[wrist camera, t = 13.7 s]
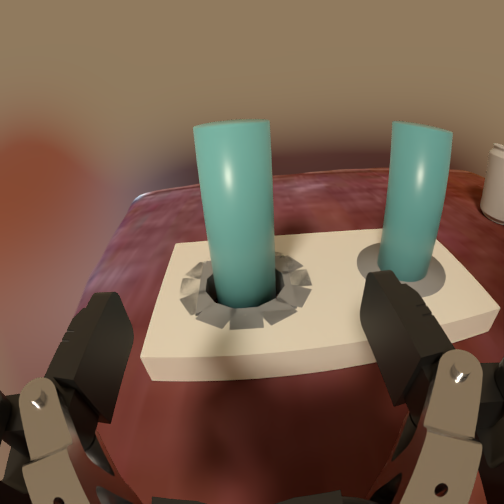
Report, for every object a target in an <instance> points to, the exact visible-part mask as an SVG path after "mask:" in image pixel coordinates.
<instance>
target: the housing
mask: <svg viewBox="0 0 504 504" xmlns="http://www.w3.org/2000/svg"><path fill="white" fill-rule="evenodd" d="M382 230H383V229H368V230H352V231H337V232H322V233H307V234H293V235H279V236H274V241H275V280H276V294H278V296H277V298H275V299H273V300H271V301H269V302H267V303H265V304H263V305H261V306H258V307H251V308H237V309H234V308H230V307H227V306H224V305H221V304H218V303H215V302H214V300H215V299H216V298H217V294H216V288H215V283H214V276H213V270H212V264H211V258H210V251H209V245H208V241H201V242H189V243H177V244H176V245H175V248H174V250H173V253H172V256H171V259H170V262H169V265H168V268H167V271H166V274H165V277H164V280H163V283H162V286H161V289H160V292H159V295H158V298H157V302H156V305H155V308H154V311H153V314H152V318H151V321H150V324H149V328H148V331H147V335H146V338H145V342H144V345H143V349H142V352H141V356H140V358H141V360H142V362H143V364H144V366H145V368H146V370H147V372H148V374H149V375H150V377H151V379H152V381H223V380H243V379H258V378H270V377H281V376H290V375H299V374H307V373H315V372H322V371H329V370H335V369H342V368H348V367H353V366H359V365H364V364H369V363H374V362H376V359H375V357H374V354H373V352H372V349H371V347H370V345H369V342H368V340H367V338H366V335H365V333H364V331H363V328H362V326H361V322H360V306H361V302H362V297H363V291H364V286H365V281H366V276H367V274H368V273H369V272H376V271H381V270H380V269H379V267H378V264H377V260H378V254H379V249H380V243H381V236H382ZM400 283H401V284H405V283H406V284H407V285H409V286H410V287H412V288H413V289H414V290H416V291H417V292H418V293H419V294H420V296H421V297H422V299H423V300H424V302H425V303H426V306H428V307H429V309H430V310H431V312H432V315H434V316H435V318H436V319H437V321H438V323H439V324H440V326H441V327H442V329H443V330H444V332H445V333H446V335H447V337H448V338H449V340H450V341H451V343H454V342H457V341H460V340H464V339H467V338H470V337H473V336H476V335H479V334H482V333H485V332H487V331H489V329H490V327H491V325H492V324H493V322H494V320H495V318H496V316H497V314H498V312H499V310H500V307H499V306H498V305H497V303H496V302H495V301H494V300H493V299H492V297H491V296H490V295H489V294H488V293H487V292H486V290H485V289H484V288H483V287H482V286H481V285H480V284H479V283H478V281H477V280H476V279H475V278H474V277H473V276H472V275H471V274H470V273H469V272H468V271H467V270H466V268H465V267H464V266H463V265H462V264H461V263H460V262H459V261H458V260H457V259H456V258H455V257H454V256H453V255H452V254H451V253H450V252H449V251H448V250H447V249H446V248H445V247H444V246H443V245H442V244H441V243H440V242H439V241H438V240H437V239H436V241H435V245H434V249H433V253H432V257H431V261H430V264H429V268H428V272H427V275H426V276H425V277H424V278H423V279H422V280H419V281H416V282H404V281H400Z"/></svg>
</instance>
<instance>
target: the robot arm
mask: <svg viewBox="0 0 504 504" xmlns="http://www.w3.org/2000/svg"><path fill="white" fill-rule="evenodd" d="M360 322H361V326H362V328H363V331H364V333H365V335H366V338H367V340H368V342H369V345H370V347H371V349H372V352H373V354H374V357H375V359H376V362H377V364H378V367H379V369H380V372H381V374H382V377H383V379H384V382H385V384H386V387H387V389H388V392H389V395H390V397H391V400H392V403H393V405H394V406H398V405H401V404H405V403H406V404H407V407H408V409H409V410H408V412H407V414H406V416H405V419H404V421H403V424H402V427H401V429H400V432H399V435H398V437H397V440H396V442H395V445H394V447H393V449H392V452H391V454H390V456H389V459H388V461H387V463H386V465H385V467H384V468H383V470H382V471H381V473H380V474H379V476H378V477H377V479H376V480H375V482H374V484H373V486H372V487H371V489H370V491H369V493H368V495H367V497H366V499H362V498H356V497H345V496H341V490H337V491H332V492H327V493H321V494H316V495H309V496H303V497H295V498H292V499H289V500H286V501H283V502H280V503H276V504H468V502H469V499H470V496H471V493H472V489H473V486H474V482H475V479H476V475H477V471H478V470H479V473H480V477H481V481H482V484H483V488H484V492H485V496H486V500H487V504H504V358H503V359H502V361H501V362H500V363H479V361H478V360H477V359H476V358H475V357H474V356H473V355H472V354H470V353H469V352H467V351H464V350H458V349H455V348H454V346H453V345H452V343H451V341H450V340H449V338H448V337H447V335H446V333H445V332H444V330H443V329H442V327H441V326H440V324H439V323H438V321H437V319H436V318H435V316H434V315H432V312H431V310H430V309H429V307H428V306H426V303H425V302H424V300H423V299H422V297H421V296H420V294H419V293H418V292H417V291H416V290H414V289H413V288H412V287H410V286H409V285H407V284H406V283H405V284H401V283H400V281H399V280H398V278H397V277H396V275H395V274H394V272H393V271H391V270H384V271H376V272H369V273H368V274H367V276H366V281H365V286H364V291H363V297H362V302H361V306H360ZM133 339H134V334H133V328H132V325H131V323H130V320H129V318H128V316H127V313H126V311H125V308H124V306H123V304H122V301H121V299H120V296H119V295H118V293H116V292H101V293H94V294H93V296H92V297H91V299H90V301H89V303H88V305H87V307H86V308H83V309H82V310H81V311H80V312H79V313H78V314H77V315H76V316H75V317H74V318H73V319H72V321H71V323H70V325H69V327H68V329H67V332H66V333H65V335H64V337H63V339H62V342H61V343H60V345H59V347H58V349H57V351H56V353H55V355H54V357H53V359H52V361H51V363H50V365H49V368H48V370H47V372H46V374H45V376H44V378H36V379H34V380H32V381H30V382H29V383H28V384H27V385H26V386H25V387H24V388H23V390H22V391H21V394H15V395H9V396H5V395H4V394H3V393H2V392H1V391H0V444H1V441H2V440H3V441H4V442H6V443H7V444H8V445H9V446H11V450H10V453H9V458H8V461H7V466H6V470H5V475H4V478H3V480H2V481H0V504H143V503H142V502H141V500H140V499H139V497H138V496H137V495H136V494H135V492H134V491H133V490H132V489H131V488H130V487H129V486H128V485H127V484H126V483H125V481H124V480H123V479H122V477H121V475H120V474H119V472H118V470H117V468H116V466H115V465H114V463H113V461H112V459H111V457H110V455H109V453H108V451H107V449H106V447H105V445H104V443H103V441H102V439H101V437H100V434H99V433H98V431H97V430H96V427H97V423H98V422H101V423H108V424H111V421H112V416H113V412H114V408H115V404H116V401H117V397H118V393H119V389H120V386H121V382H122V379H123V375H124V371H125V368H126V365H127V361H128V358H129V355H130V351H131V348H132V345H133ZM152 504H205V503H202V502H198V501H189V500H177V499H167V498H159V497H152Z"/></svg>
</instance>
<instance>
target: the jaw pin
mask: <svg viewBox="0 0 504 504" xmlns="http://www.w3.org/2000/svg"><path fill="white" fill-rule="evenodd" d="M193 131H194V140H195V147H196V148H195V149H196V157H197V165H198V172H199V181H200V189H201V196H202V204H203V211H204V218H205V225H206V232H207V238H208V245H209V251H210V258H211V264H212V270H213V276H214V283H215V288H216V294H217V300H218V304H221V305H224V306H227V307H230V308H234V309H237V308H251V307H258V306H261V305H263V304H265V303H267V302H269V301H271V300H273V299H275V298H276V280H275V241H274V210H273V184H272V161H271V140H270V122H269V120H264V119H239V120H227V121H218V122H212V123H206V124H201V125H198V126H195V127H193Z"/></svg>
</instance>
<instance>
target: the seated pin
mask: <svg viewBox="0 0 504 504" xmlns="http://www.w3.org/2000/svg"><path fill="white" fill-rule="evenodd" d="M452 135H453V133H452V132H450V131H448V130H445V129H441V128H437V127H433V126H429V125H423V124H418V123H412V122H403V121H393V122H392V143H391V159H390V170H389V181H388V191H387V200H386V208H385V216H384V223H383V230H382V236H381V243H380V249H379V254H378V260H377V264H378V267H379V269H380V270H381V271H384V270H391V271H393V272H394V274H395V275H396V277H397V278H398V280H399V281H404V282H416V281H419V280H422V279H423V278H424V277H425V276H426V275H427V272H428V268H429V264H430V261H431V257H432V253H433V249H434V245H435V241H436V237H437V233H438V228H439V224H440V219H441V214H442V209H443V204H444V198H445V192H446V186H447V180H448V173H449V165H450V157H451V147H452Z"/></svg>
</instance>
